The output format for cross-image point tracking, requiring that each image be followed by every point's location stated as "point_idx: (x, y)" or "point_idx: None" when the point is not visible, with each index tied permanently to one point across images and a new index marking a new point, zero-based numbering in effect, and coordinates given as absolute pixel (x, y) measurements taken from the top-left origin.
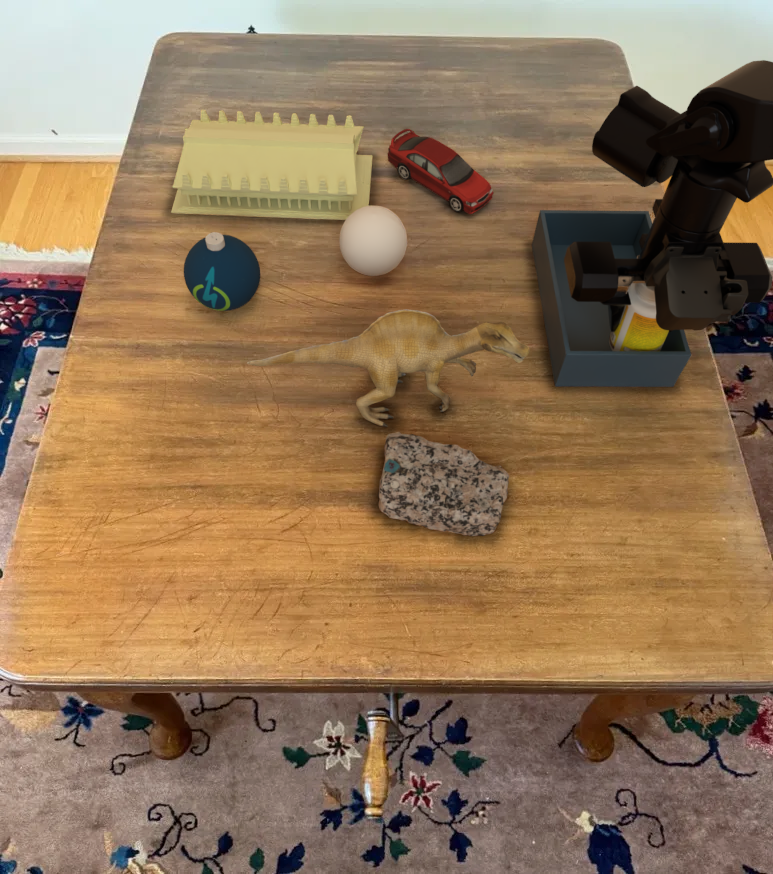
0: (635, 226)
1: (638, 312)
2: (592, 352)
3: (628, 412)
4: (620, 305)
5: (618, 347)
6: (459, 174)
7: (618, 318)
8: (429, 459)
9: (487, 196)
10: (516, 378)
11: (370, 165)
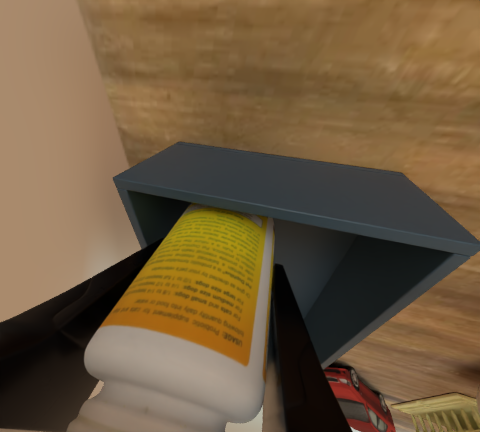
0: None
1: (235, 372)
2: (381, 234)
3: (274, 83)
4: (307, 423)
5: (269, 227)
6: (347, 405)
7: (284, 317)
8: None
9: None
10: (472, 203)
11: (401, 406)
